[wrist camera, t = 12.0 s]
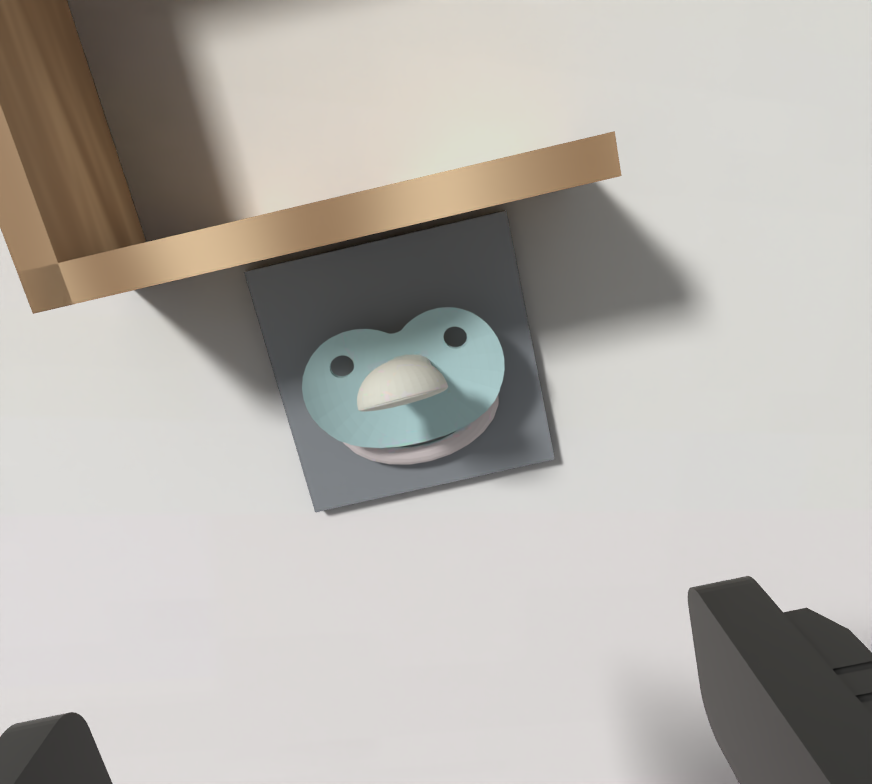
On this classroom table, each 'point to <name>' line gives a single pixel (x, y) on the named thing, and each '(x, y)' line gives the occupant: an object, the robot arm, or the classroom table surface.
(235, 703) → the classroom table surface
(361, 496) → the pad
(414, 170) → the classroom table surface
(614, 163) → the cubby
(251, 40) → the classroom table surface
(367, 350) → the pacifier
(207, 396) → the classroom table surface
